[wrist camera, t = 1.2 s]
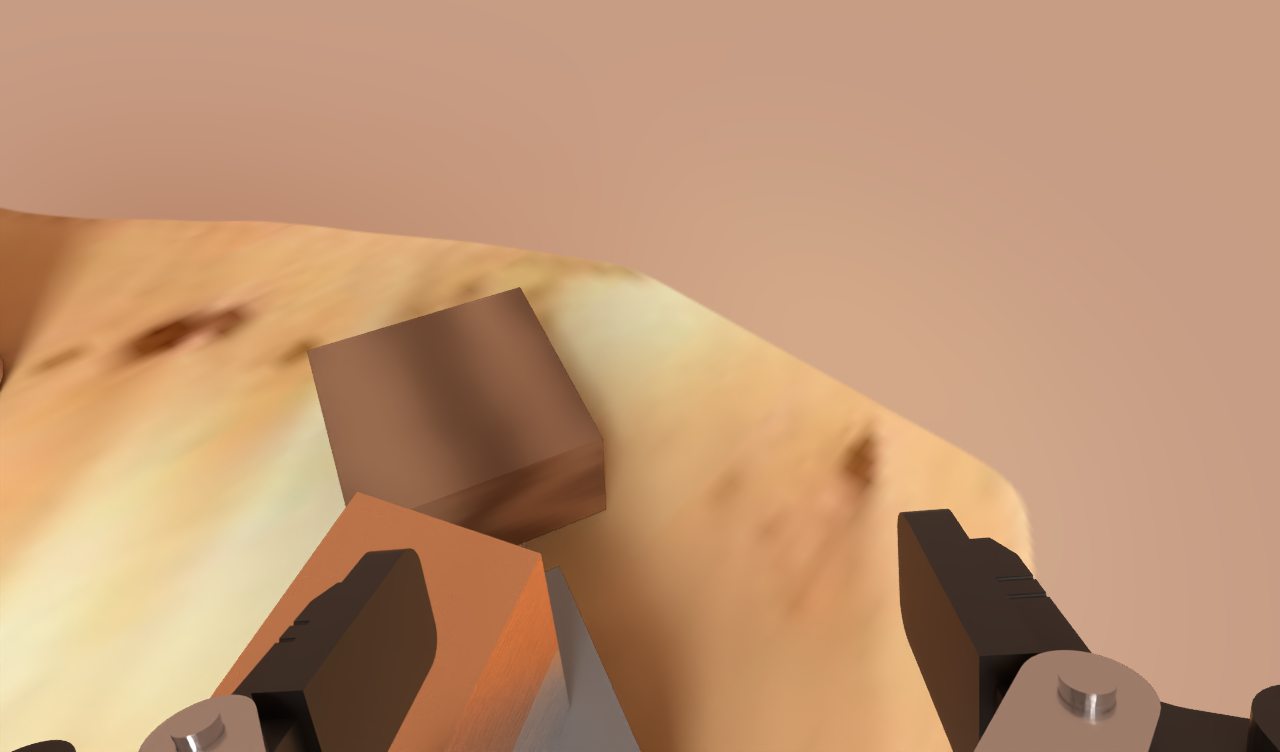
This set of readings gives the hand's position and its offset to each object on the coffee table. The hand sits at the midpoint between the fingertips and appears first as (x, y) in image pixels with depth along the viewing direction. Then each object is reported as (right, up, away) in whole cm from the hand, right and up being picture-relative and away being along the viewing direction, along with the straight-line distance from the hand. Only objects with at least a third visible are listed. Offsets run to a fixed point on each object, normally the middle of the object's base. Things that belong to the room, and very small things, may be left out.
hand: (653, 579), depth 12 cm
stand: (-9, -1, +27) cm, 29 cm away
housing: (-6, -10, +12) cm, 17 cm away
